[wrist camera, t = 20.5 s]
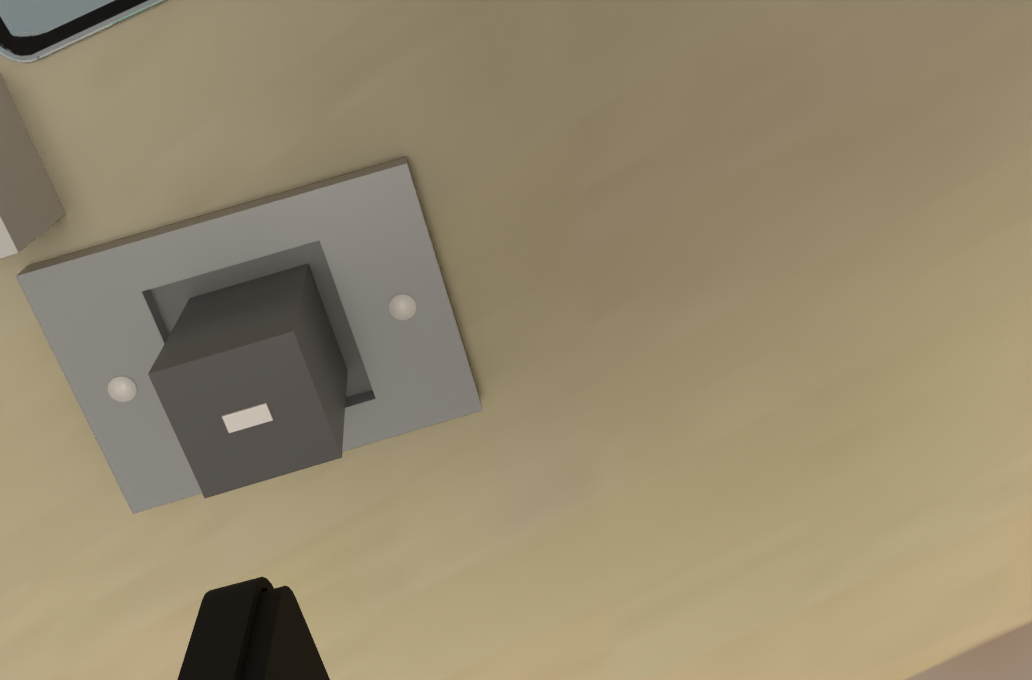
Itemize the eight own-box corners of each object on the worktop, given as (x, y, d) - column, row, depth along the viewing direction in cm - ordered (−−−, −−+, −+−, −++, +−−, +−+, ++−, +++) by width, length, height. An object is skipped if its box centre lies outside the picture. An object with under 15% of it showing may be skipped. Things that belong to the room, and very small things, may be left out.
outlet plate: (405, 156, 35) (407, 163, 34) (479, 397, 39) (483, 411, 38) (27, 266, 35) (15, 277, 33) (139, 497, 38) (132, 515, 37)
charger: (308, 263, 36) (292, 332, 29) (347, 370, 37) (341, 459, 31) (189, 298, 35) (147, 375, 29) (234, 404, 37) (204, 499, 31)
